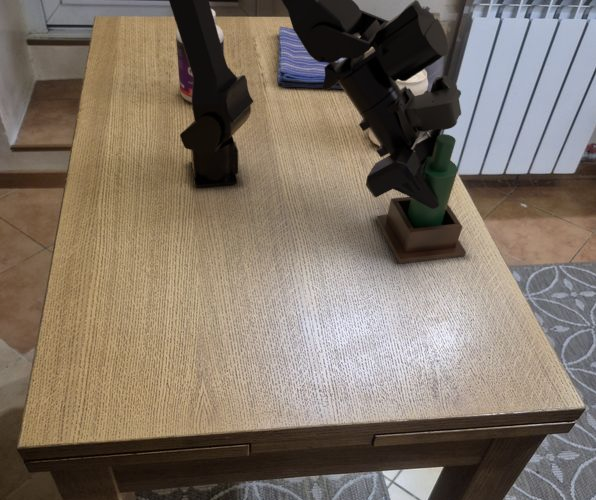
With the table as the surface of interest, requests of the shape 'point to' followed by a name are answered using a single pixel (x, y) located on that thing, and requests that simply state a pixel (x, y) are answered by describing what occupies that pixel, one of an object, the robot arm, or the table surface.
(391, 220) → the holder
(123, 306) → the table surface
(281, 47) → the dish towel
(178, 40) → the pill bottle
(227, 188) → the table surface
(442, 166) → the bottle
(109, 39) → the table surface
